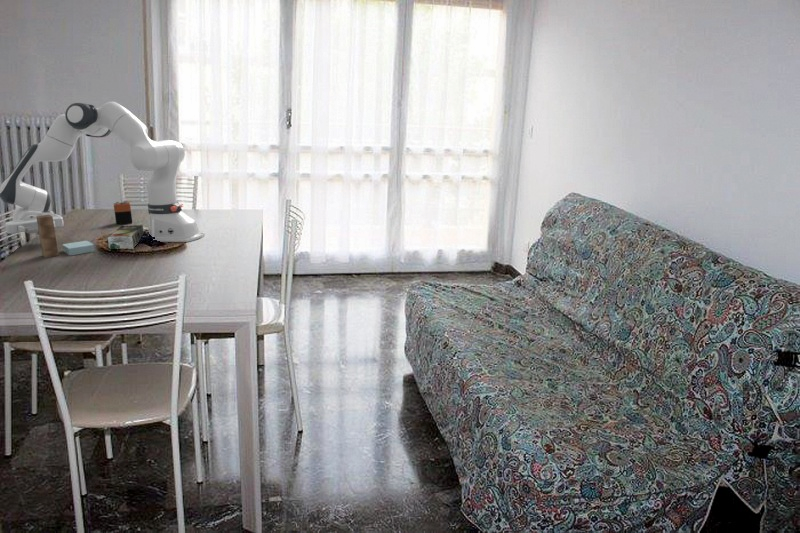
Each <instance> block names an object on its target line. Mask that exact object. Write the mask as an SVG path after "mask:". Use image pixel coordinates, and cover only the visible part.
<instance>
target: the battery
mask: <svg viewBox="0 0 800 533" xmlns="http://www.w3.org/2000/svg"><path fill="white" fill-rule="evenodd" d="M131 208H132V207H131V203H130V201H128V200H123V201H122V202H120V201H115V202H114V203H113V211H114V218H115V224H116V225H128V224H132V223H133V218H132V217H133V216H132V209H131Z"/></svg>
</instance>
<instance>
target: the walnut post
mask: <svg viewBox="0 0 800 533" xmlns="http://www.w3.org/2000/svg"><path fill="white" fill-rule="evenodd" d="M36 218H37V224H38V230H39V232H38V235H39V236H38V237H39V242H40V247H41V248H40V249H41V253H42V254H41V255H42V257H44V258H52V257H54V258H55V257H59V249H58V243H57V238H56V230H55V228H54V223H53V216H51V215H41V216H36Z"/></svg>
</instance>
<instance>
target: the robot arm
mask: <svg viewBox="0 0 800 533" xmlns="http://www.w3.org/2000/svg"><path fill="white" fill-rule="evenodd" d="M111 133H113V134H114V136H115V137H116V138H118V139H119V140H120V141H121V142H122V143H123V144H124V145H125V146H126V147H127V148H128V151H129V152H128V160H129V163H130V165H131V166H132V167H133V168H134V169H135V170H138V171H142V172H145V171H146V172H150V171H152V173H151V174H152V175H151V177H150V179H149V180H148V182H147V183H146V193H147V200H148V203H147V211H148V215H149V233H148V235H149V234H150V235H151V236H152V237H155V239H153V240H157V241H160V242H161V243H162V242H163V243H164V242H166V243H168V242H177V243H179V242H181V243H185V242H192V241H196V240H199V239H201V238H203V237H204V236H205V235H206V234H205V232H204V231H199V226H198V222H197V221H196V220H195V219H194V218H192V217H191V216H189V215H188V214H187V213H185V212H184V211H183V209H182V208H183V207H184V203H181V204H180V203H179V201H178V199H177V198H178V197H177V185H176V184H177V175H178V172H179V167H180V166H181V164H182V162H183V161H184V159H185V156H186V153H185V148H184V146H183V145H182V143H180V142H179V141H177V140H172V139H161V140H153V139H151V138H150V136H149V134H148V133H149V129H148V126H147V125H146V124H145V123H143V121H141V119H139V118H138V117H137V116H136V115H134V113H132V112H131V111H130V110H129V109H127V108H126V107H125V106H123V105H121V104H120V103H118V102H117V101H107V102H105V103H103V104H102V105H101V106H100V107H96V106H95V105H94V104H89V103H84V102H73V103H71V104H70V105H69V106H68V107H67V108H66V110H65V113H63V114H61V113H60V114H59V115H58V116H57V117H56V118H55V119H54V121H53V122H52V124H51V125H50V127H49V129H48V131H47V133H46V135H45V136H44V138H43V139H42V140H41V141H40V142H39V143H36V144H32V145H30V146H29V148H28V149H27V150H26V151H25V152H24V154H23V155H22V157H21V158H20V160H19V161H18V162H17V164H16V165H15V167H14V168H13V169H12V171H11V172H10V174H9V175H8V176H7V177H6V178H5V180H4V181H3V182H2V183H1V184H0V199H1V201H2V202H3V203H5V204H9V205H15V206H17V208H16V209H15V210H13V212H12V220H11V221H6V222H5V224H3V225H2V228H3V229H5V230H6V233H7V234H9V235H10V234H11V235H13V234H18V233H19V234H20V233H27V234H31V235H32V234H36V233H39V230H38V224H37V218H36V216H41V215H51V216H53V223H54V229H55V228H60V227H61V228H62V227H64V226H65V223H64V218H63V217H62V216H61V215H60V214H56V213H54V211H49V209H50V207H51V202H52V200H51V196H50V193H49V192H48V191H47V190H46V189H43V188H41V187H37V186H34V185H31V184H28V183H26V182H24V181H22V180H23V179H24V176H25V175H26V174H27V172H28V171H29V169H30V168H31V167H32V166H33V165H34V164H36V163H39V162H49V163H50V162H52V163H53V162H55V163H57V162H58V163H59V162H62V161H66V160H67V159H68V158H69V157H70V156H71V154H72V153H73V150H74V149H75V147H76V144H77V141H78V139H79V138H80V137H81V136H83V135H85V136H87V137H91V138H105V137H109V135H111Z"/></svg>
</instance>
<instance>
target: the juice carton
mask: <svg viewBox="0 0 800 533" xmlns="http://www.w3.org/2000/svg"><path fill="white" fill-rule="evenodd" d="M143 233H144V225H142V224H141V225H140V224H138V225H137V224H136V225H120V226H119V227H118V228H117V229H116V230H115V231H114V232H113V233H111V234H110V235H109V236H107V242H108V245H107V247H108V249H109V248H110V249H117V248H129V249H131V248H132V249H133V248H134V247H135V246H136V245H137V244H138V242H139V240H140V239H141V236H142V235H143ZM144 234H145V233H144ZM138 245H139V244H138ZM138 245H137V246H138ZM134 249H135V248H134ZM134 249H133V250H134ZM117 250H118V249H117Z"/></svg>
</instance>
